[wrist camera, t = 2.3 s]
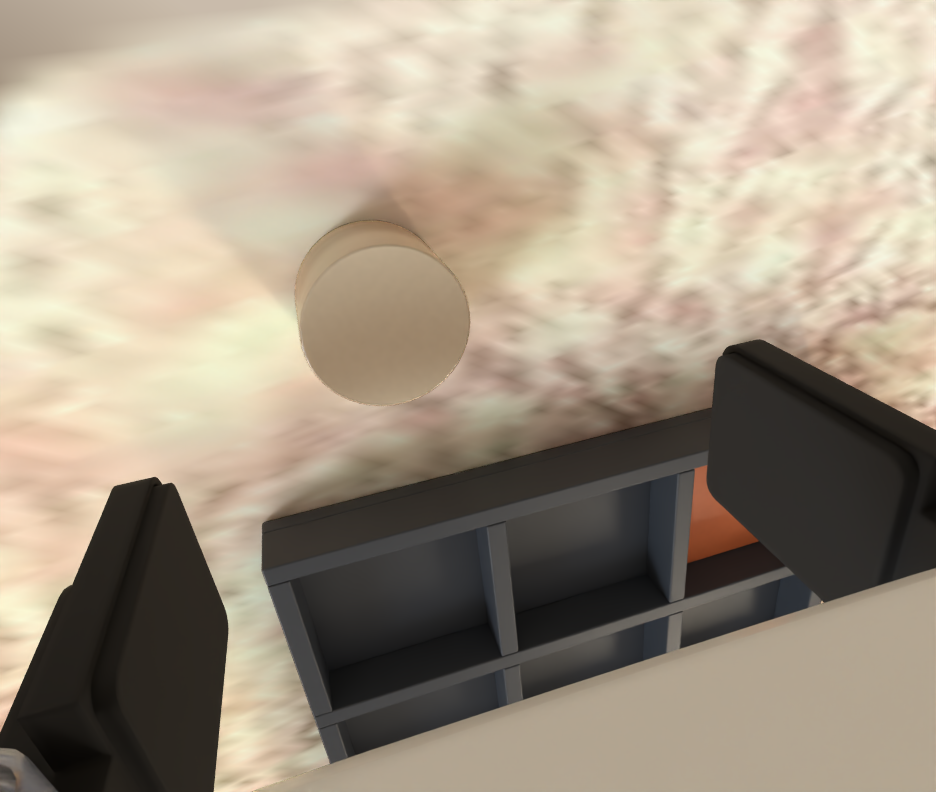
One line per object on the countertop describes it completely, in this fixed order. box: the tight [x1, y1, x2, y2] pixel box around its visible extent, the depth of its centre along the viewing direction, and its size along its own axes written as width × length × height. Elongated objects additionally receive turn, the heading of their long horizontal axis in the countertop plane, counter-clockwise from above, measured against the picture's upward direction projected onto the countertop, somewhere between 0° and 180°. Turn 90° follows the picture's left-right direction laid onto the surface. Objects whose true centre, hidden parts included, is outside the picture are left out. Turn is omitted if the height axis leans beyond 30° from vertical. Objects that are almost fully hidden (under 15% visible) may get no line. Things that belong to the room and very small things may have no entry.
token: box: [295, 220, 470, 406], centre depth 17 cm, size 4×4×3 cm
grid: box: [262, 408, 821, 764], centre depth 27 cm, size 22×22×2 cm
